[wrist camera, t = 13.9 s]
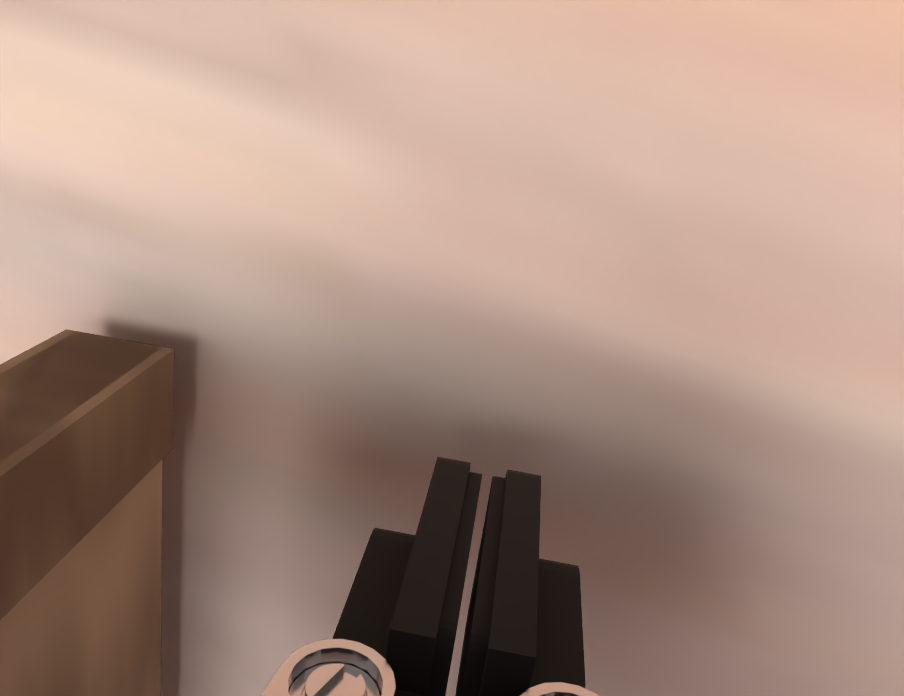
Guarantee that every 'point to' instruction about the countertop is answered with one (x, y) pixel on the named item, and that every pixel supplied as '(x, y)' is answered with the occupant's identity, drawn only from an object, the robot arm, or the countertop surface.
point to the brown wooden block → (83, 516)
